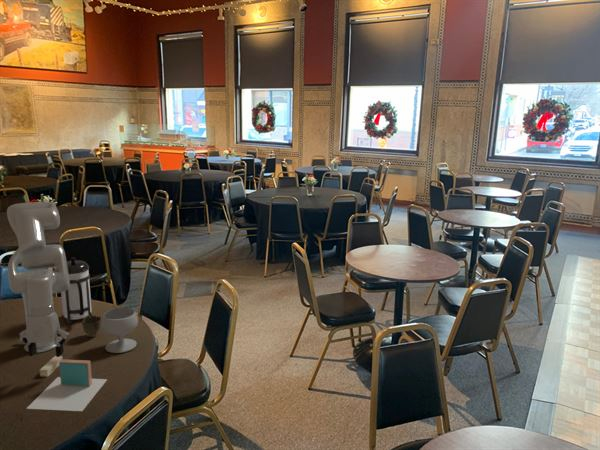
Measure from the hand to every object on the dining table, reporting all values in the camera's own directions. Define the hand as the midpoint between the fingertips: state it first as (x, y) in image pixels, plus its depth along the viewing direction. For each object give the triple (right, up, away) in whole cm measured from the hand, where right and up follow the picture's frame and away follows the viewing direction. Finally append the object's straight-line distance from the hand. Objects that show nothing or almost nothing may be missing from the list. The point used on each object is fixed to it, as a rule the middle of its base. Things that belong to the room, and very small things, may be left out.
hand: (46, 354), depth 159 cm
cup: (+1, -2, +33) cm, 33 cm away
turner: (-1, -9, +2) cm, 9 cm away
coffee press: (-13, +2, +49) cm, 51 cm away
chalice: (+17, -4, +25) cm, 31 cm away
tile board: (+13, -12, -9) cm, 20 cm away
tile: (+13, -9, -4) cm, 16 cm away
